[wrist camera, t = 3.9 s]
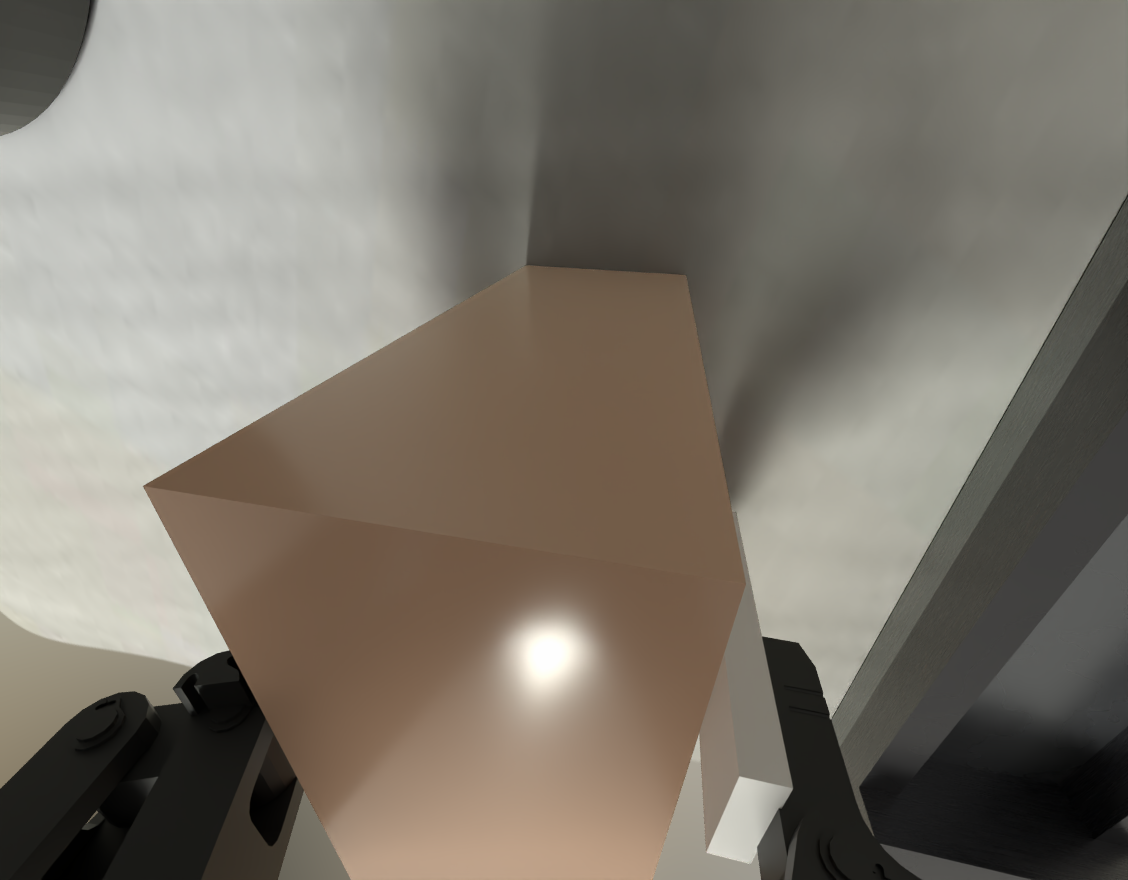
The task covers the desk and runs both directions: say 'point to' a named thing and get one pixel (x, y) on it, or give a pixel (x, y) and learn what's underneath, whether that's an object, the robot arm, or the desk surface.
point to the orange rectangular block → (483, 580)
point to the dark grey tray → (1016, 634)
